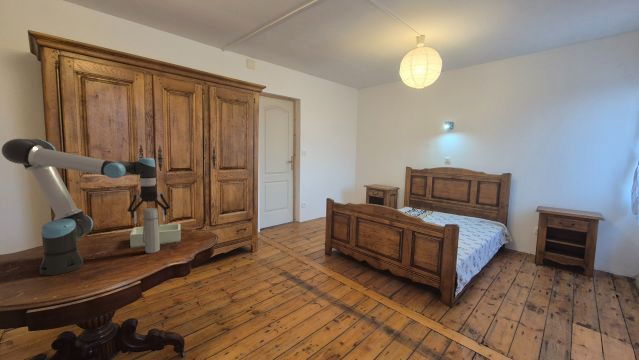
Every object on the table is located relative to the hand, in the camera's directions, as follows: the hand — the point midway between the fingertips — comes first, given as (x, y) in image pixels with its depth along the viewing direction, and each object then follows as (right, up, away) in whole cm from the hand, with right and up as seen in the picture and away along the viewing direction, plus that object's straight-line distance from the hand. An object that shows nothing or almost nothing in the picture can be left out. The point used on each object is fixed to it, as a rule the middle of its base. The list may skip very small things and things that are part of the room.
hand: (150, 222), depth 150 cm
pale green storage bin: (-8, -15, +20) cm, 26 cm away
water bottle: (-1, -18, +2) cm, 18 cm away
